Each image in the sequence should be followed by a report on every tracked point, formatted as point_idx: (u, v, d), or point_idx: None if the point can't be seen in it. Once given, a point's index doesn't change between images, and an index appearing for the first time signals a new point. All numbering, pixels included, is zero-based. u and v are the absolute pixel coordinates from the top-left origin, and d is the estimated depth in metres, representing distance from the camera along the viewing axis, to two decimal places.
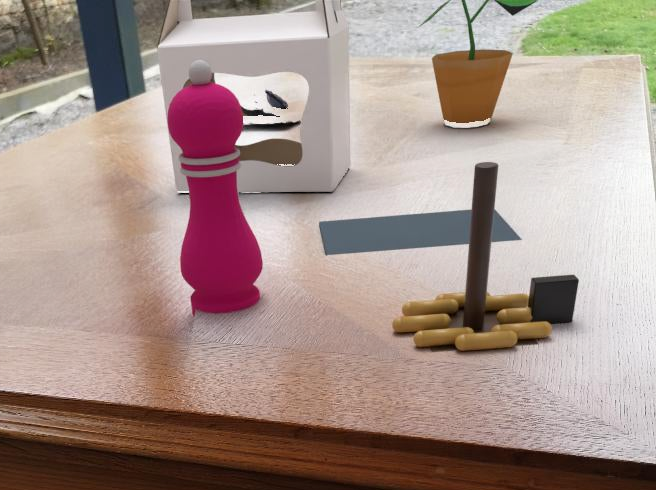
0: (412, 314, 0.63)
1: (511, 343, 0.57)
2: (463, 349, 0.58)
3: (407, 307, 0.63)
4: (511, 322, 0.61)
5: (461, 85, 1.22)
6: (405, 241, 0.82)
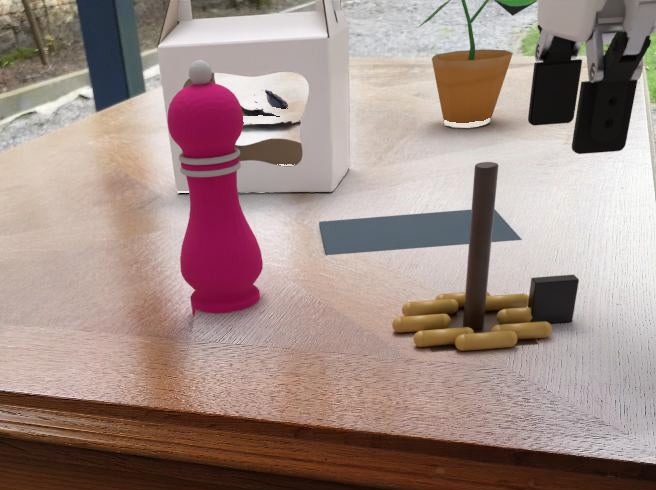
0: (412, 314, 0.63)
1: (511, 343, 0.57)
2: (463, 349, 0.58)
3: (407, 307, 0.63)
4: (511, 322, 0.61)
5: (461, 85, 1.22)
6: (405, 241, 0.82)
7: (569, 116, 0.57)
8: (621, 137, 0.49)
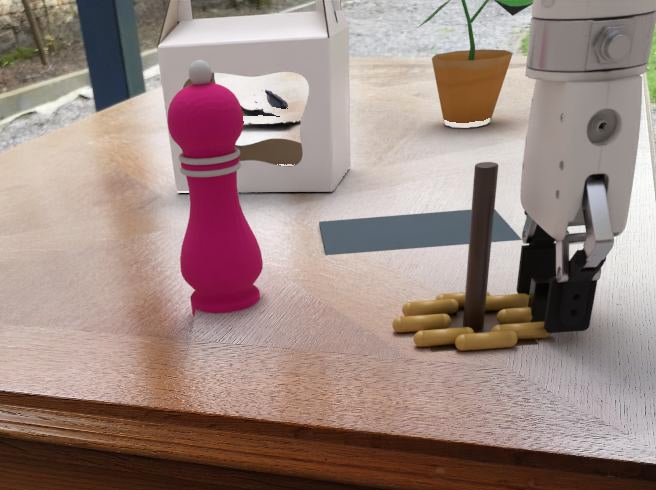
0: (412, 314, 0.63)
1: (511, 343, 0.57)
2: (463, 349, 0.58)
3: (407, 307, 0.63)
4: (511, 322, 0.61)
5: (461, 85, 1.22)
6: (405, 241, 0.82)
7: None
8: (585, 320, 0.57)
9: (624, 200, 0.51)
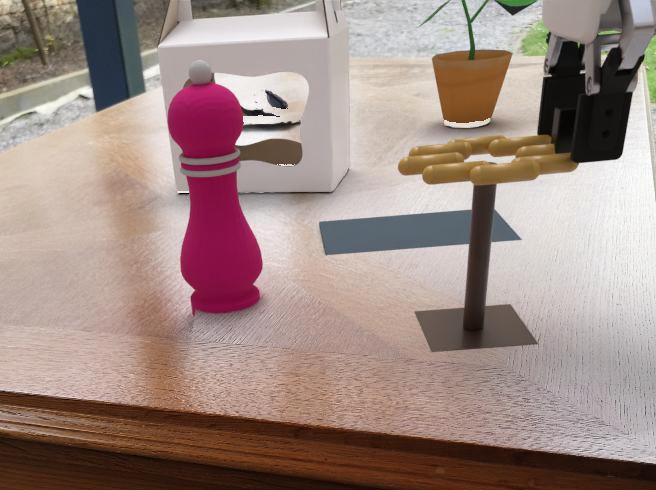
0: None
1: (533, 174, 0.51)
2: (479, 183, 0.51)
3: (414, 151, 0.56)
4: None
5: (461, 85, 1.22)
6: (405, 241, 0.82)
7: None
8: (618, 146, 0.50)
9: None
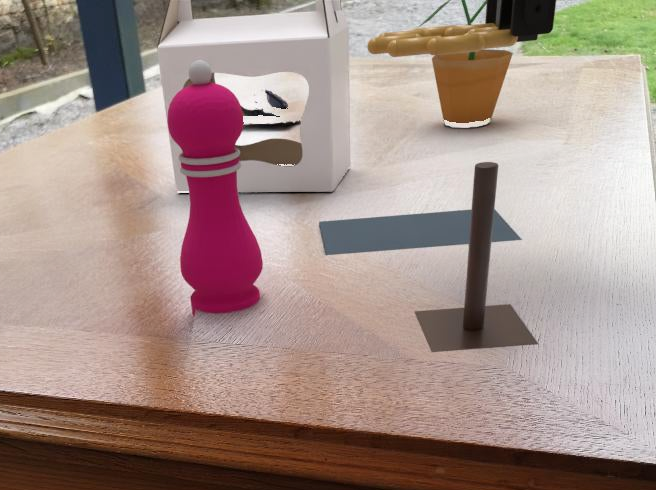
0: None
1: (479, 44, 0.61)
2: (434, 52, 0.61)
3: (381, 37, 0.66)
4: None
5: (461, 85, 1.22)
6: (405, 241, 0.82)
7: None
8: (549, 21, 0.61)
9: None
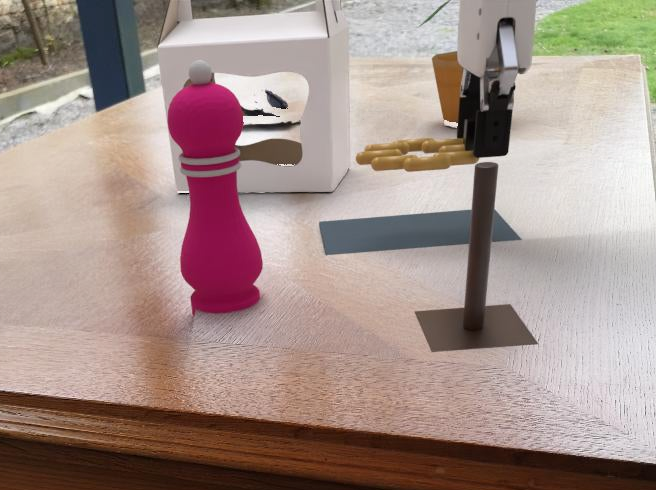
0: None
1: (446, 164, 0.74)
2: (409, 170, 0.74)
3: (368, 148, 0.79)
4: None
5: None
6: (405, 241, 0.82)
7: None
8: (505, 147, 0.73)
9: (528, 40, 0.67)
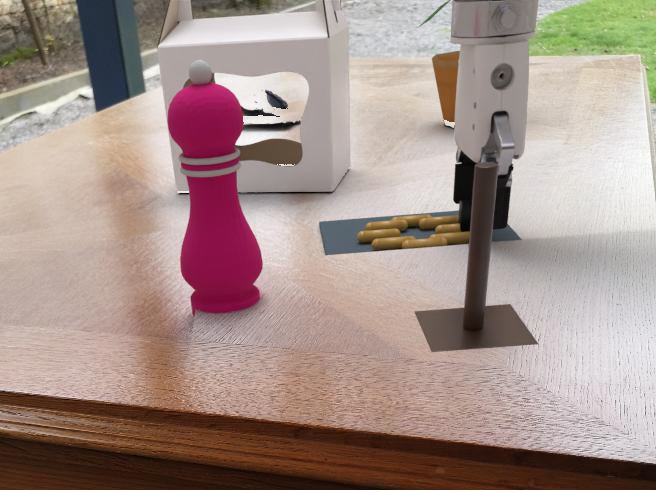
0: None
1: None
2: None
3: (369, 226, 0.84)
4: None
5: None
6: None
7: None
8: (504, 220, 0.76)
9: (520, 130, 0.72)
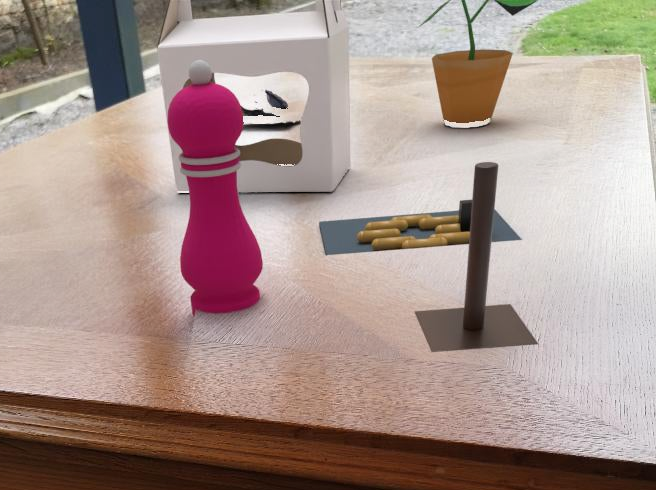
0: None
1: None
2: None
3: (369, 226, 0.84)
4: None
5: (461, 85, 1.22)
6: None
7: None
8: None
9: None
